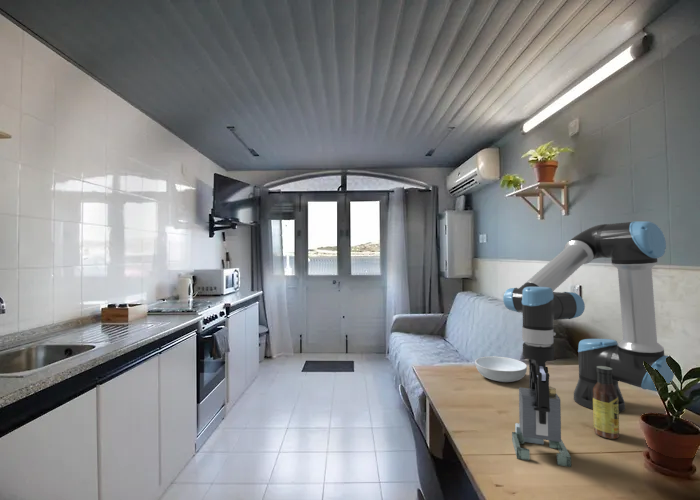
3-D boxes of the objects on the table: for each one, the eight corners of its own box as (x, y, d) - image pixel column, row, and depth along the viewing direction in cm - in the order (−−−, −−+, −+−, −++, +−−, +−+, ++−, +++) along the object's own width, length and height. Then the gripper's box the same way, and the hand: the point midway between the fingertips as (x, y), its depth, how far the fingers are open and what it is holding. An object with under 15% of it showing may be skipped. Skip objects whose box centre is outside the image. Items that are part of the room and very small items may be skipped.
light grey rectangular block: (541, 440, 101) (541, 426, 102) (543, 444, 99) (543, 430, 99) (515, 436, 104) (515, 423, 104) (516, 440, 101) (516, 426, 101)
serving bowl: (471, 370, 165) (470, 355, 165) (517, 371, 162) (517, 356, 162) (481, 386, 144) (481, 369, 144) (535, 388, 141) (534, 371, 141)
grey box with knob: (522, 436, 94) (522, 389, 94) (519, 426, 99) (518, 381, 100) (561, 442, 91) (560, 393, 91) (555, 431, 97) (554, 385, 97)
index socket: (561, 447, 98) (560, 438, 98) (571, 467, 88) (571, 457, 89) (512, 440, 101) (512, 431, 101) (517, 458, 92) (517, 449, 92)
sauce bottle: (620, 442, 100) (619, 372, 100) (594, 436, 103) (592, 369, 104) (617, 432, 106) (616, 366, 106) (592, 427, 109) (591, 363, 109)
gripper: (563, 353, 85) (564, 449, 85) (545, 336, 103) (546, 415, 103) (529, 351, 88) (530, 444, 87) (517, 335, 106) (518, 412, 105)
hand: (539, 428), depth 95 cm, fingers closed on grey box with knob, 6 cm apart
